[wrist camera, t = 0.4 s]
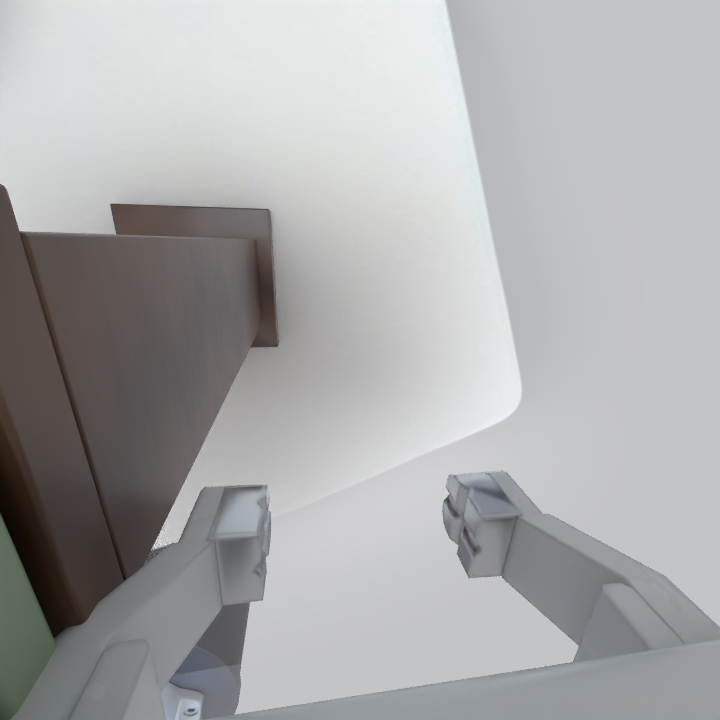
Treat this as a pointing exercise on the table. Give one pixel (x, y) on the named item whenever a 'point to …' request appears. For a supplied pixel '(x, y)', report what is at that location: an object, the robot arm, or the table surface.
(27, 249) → the walnut stand
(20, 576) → the green t-shaped block
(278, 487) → the table surface
